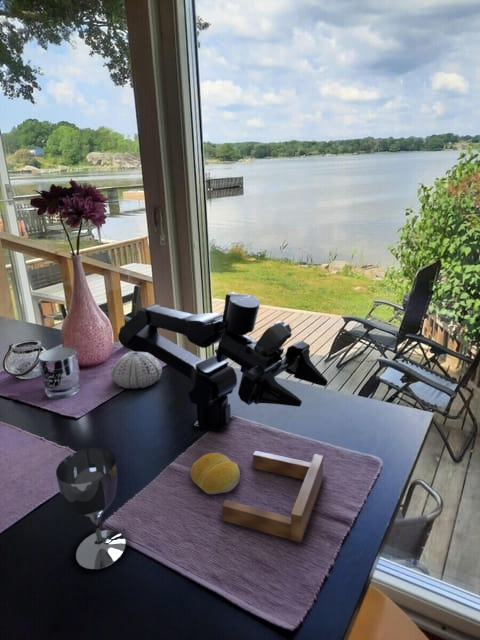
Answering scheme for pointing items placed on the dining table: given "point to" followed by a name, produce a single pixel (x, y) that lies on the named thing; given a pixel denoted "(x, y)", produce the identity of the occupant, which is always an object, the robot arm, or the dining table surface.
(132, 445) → the dining table surface
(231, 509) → the open wooden frame
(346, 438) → the dining table surface
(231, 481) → the bread roll
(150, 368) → the sea urchin shell
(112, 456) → the wine glass
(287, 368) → the robot arm
